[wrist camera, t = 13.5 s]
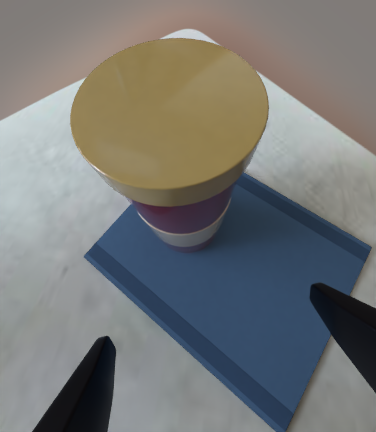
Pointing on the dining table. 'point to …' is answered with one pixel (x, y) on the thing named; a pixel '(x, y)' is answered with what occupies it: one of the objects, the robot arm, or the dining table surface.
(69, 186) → the dining table surface
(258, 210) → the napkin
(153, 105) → the jam jar
